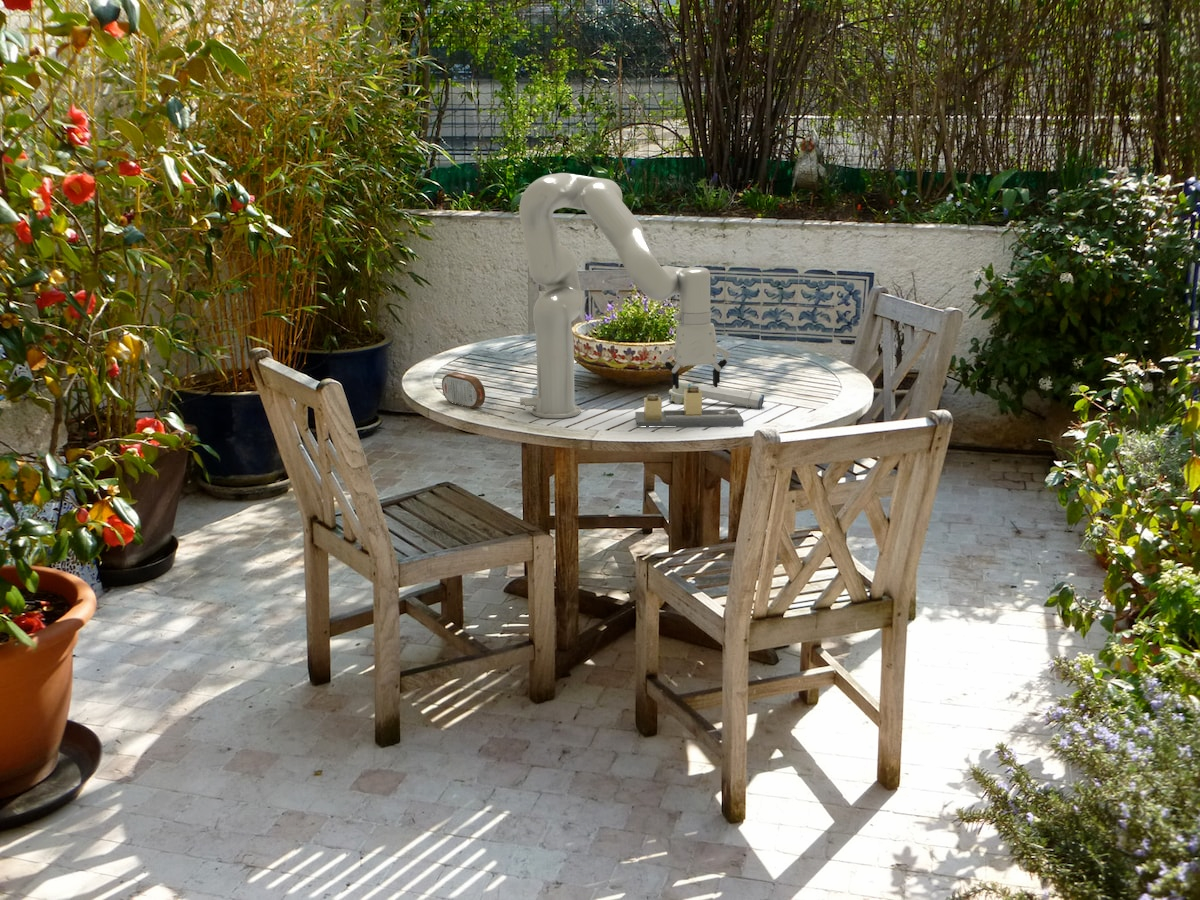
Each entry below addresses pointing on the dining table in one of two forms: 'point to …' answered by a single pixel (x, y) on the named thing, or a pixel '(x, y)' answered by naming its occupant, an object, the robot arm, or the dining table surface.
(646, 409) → the fixed leg
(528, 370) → the dining table surface
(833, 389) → the dining table surface
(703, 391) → the grey flashlight
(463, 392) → the tin
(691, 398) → the block
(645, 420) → the bolt plate
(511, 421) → the dining table surface
